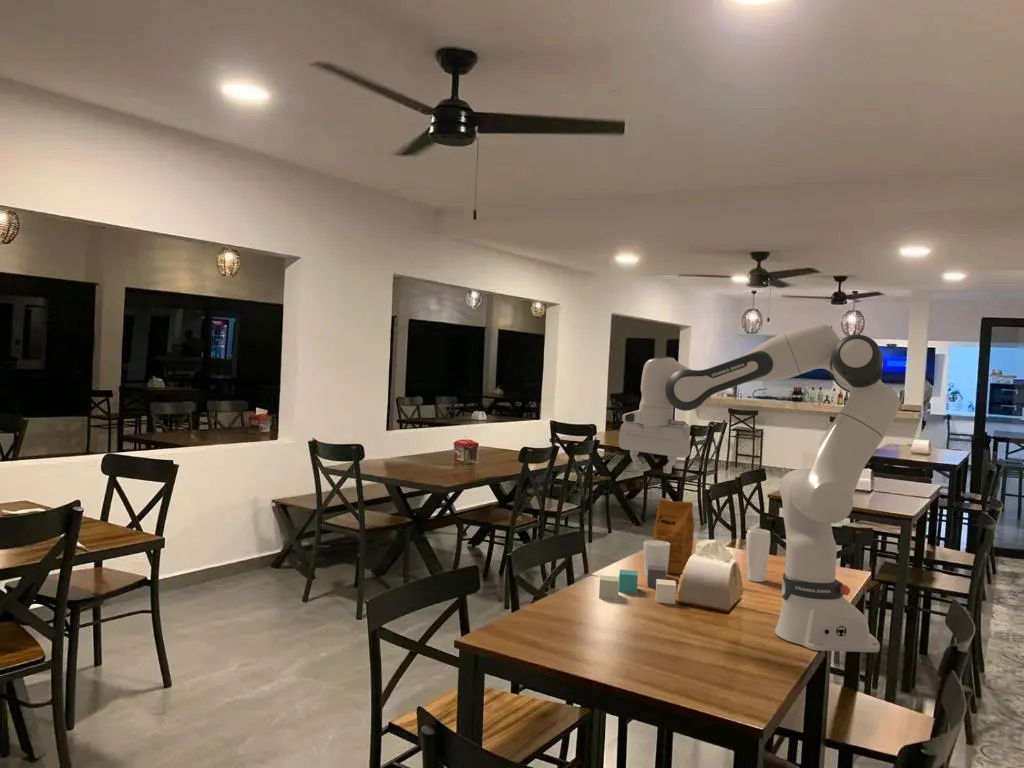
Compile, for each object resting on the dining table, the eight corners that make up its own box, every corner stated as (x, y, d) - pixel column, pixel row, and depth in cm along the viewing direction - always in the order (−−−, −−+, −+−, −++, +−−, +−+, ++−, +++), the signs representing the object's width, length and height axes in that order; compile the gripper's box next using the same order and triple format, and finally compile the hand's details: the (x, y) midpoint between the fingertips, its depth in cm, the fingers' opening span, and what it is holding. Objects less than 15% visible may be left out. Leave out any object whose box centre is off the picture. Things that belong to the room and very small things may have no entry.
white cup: (649, 571, 234) (650, 538, 234) (673, 576, 230) (674, 543, 230) (637, 576, 228) (639, 542, 228) (662, 581, 223) (663, 547, 223)
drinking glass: (771, 583, 226) (773, 533, 225) (748, 582, 226) (750, 532, 225) (764, 577, 232) (766, 528, 232) (741, 576, 232) (744, 527, 232)
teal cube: (636, 588, 214) (637, 571, 214) (636, 593, 210) (637, 575, 209) (619, 587, 215) (619, 569, 215) (618, 592, 210) (619, 574, 210)
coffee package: (660, 563, 245) (663, 495, 244) (696, 571, 237) (699, 500, 237) (645, 569, 237) (648, 498, 237) (682, 577, 229) (686, 504, 229)
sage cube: (618, 595, 207) (619, 576, 207) (617, 600, 202) (618, 581, 202) (599, 593, 208) (600, 575, 208) (599, 598, 203) (599, 579, 203)
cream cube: (674, 599, 206) (675, 580, 206) (675, 604, 201) (676, 585, 201) (655, 597, 207) (656, 579, 207) (656, 602, 202) (656, 583, 202)
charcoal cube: (664, 583, 221) (665, 566, 221) (665, 588, 216) (666, 570, 216) (647, 582, 222) (648, 565, 222) (647, 586, 217) (648, 569, 217)
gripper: (696, 421, 195) (692, 475, 195) (630, 414, 209) (627, 464, 210) (683, 421, 191) (679, 476, 191) (617, 414, 205) (613, 465, 205)
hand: (651, 470), depth 200 cm, fingers open, 8 cm apart
